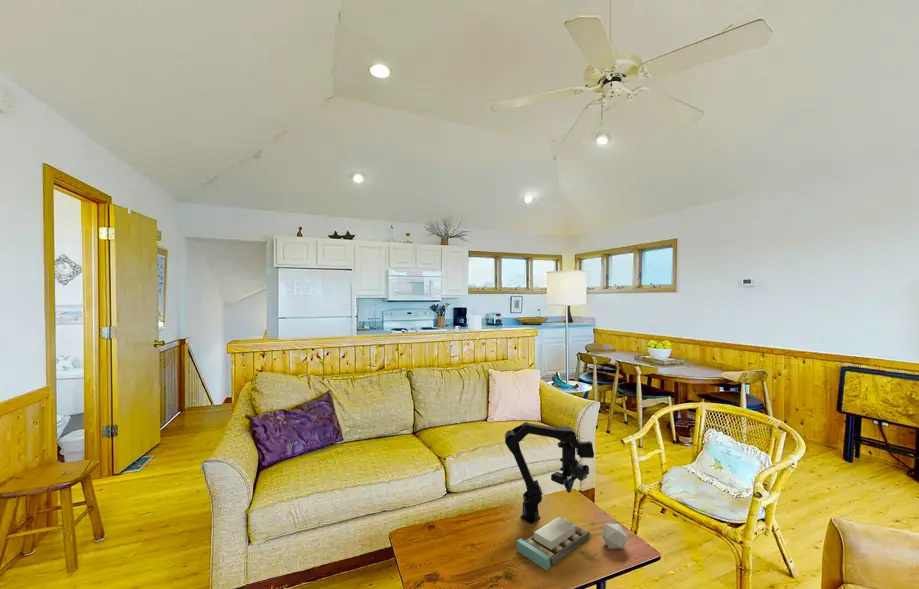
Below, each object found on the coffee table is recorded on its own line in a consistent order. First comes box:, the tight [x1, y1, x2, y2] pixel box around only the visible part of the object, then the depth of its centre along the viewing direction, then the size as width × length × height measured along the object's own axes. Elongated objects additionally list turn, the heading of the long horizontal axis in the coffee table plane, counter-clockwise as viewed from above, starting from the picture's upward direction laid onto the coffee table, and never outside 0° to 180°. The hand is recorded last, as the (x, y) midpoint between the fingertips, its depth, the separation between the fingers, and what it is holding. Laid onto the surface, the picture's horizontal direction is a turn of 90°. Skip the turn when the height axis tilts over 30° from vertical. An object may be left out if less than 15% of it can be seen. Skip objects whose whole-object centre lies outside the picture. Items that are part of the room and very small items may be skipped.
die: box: [600, 523, 629, 550], centre depth 151 cm, size 8×9×10 cm
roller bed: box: [524, 517, 591, 566], centre depth 153 cm, size 13×25×3 cm, turn 130°
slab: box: [533, 516, 576, 551], centre depth 152 cm, size 8×16×3 cm, turn 130°
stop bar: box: [516, 538, 551, 572], centre depth 143 cm, size 14×2×4 cm, turn 40°
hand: (569, 492), depth 169 cm, fingers closed
